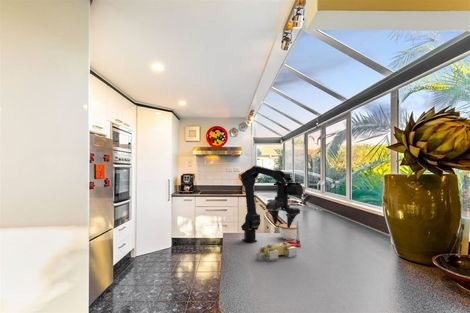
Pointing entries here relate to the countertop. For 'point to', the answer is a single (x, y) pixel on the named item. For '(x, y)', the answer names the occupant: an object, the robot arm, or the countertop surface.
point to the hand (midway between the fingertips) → (281, 225)
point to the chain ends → (274, 254)
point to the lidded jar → (287, 231)
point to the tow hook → (296, 238)
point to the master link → (277, 248)
